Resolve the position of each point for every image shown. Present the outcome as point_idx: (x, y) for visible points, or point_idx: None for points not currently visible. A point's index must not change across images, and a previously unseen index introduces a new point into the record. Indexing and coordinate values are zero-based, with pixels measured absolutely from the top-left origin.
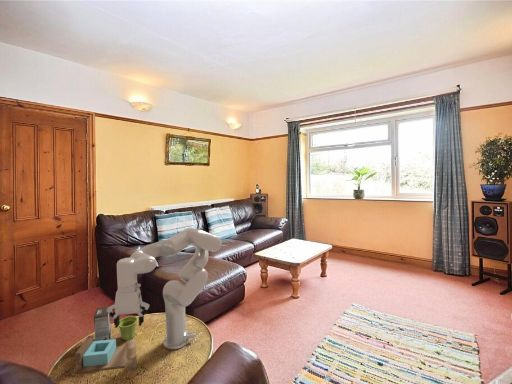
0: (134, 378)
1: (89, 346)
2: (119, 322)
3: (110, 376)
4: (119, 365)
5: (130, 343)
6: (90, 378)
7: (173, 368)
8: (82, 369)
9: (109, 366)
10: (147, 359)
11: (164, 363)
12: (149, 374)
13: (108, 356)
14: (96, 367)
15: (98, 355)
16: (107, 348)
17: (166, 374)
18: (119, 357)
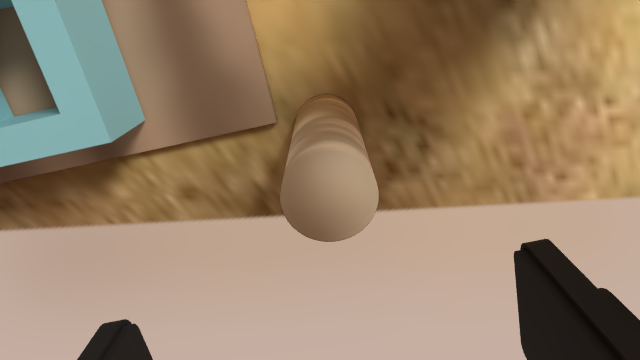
0: (388, 203)
1: None
2: (126, 347)
3: (232, 198)
4: (235, 123)
5: (340, 217)
6: (123, 217)
7: (616, 114)
8: (13, 170)
9: (172, 136)
10: (400, 39)
11: (542, 72)
12: (468, 170)
13: (120, 112)
14: (90, 149)
15: (52, 153)
16: (62, 82)
17: (578, 164)
18: (181, 45)
